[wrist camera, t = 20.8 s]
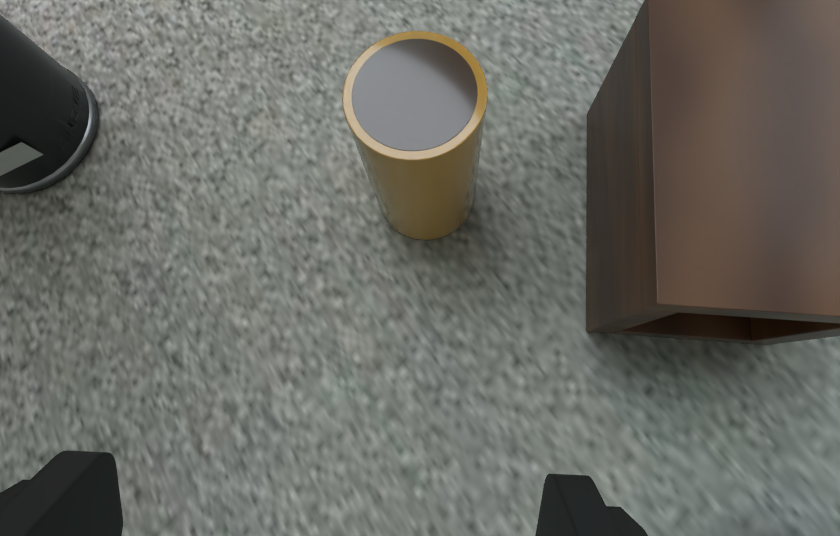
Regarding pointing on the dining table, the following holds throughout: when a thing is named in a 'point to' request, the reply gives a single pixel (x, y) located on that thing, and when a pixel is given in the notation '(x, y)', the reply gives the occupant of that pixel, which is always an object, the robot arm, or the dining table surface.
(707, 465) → the dining table surface
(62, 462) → the robot arm
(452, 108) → the tumbler
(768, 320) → the shelf
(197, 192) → the dining table surface
